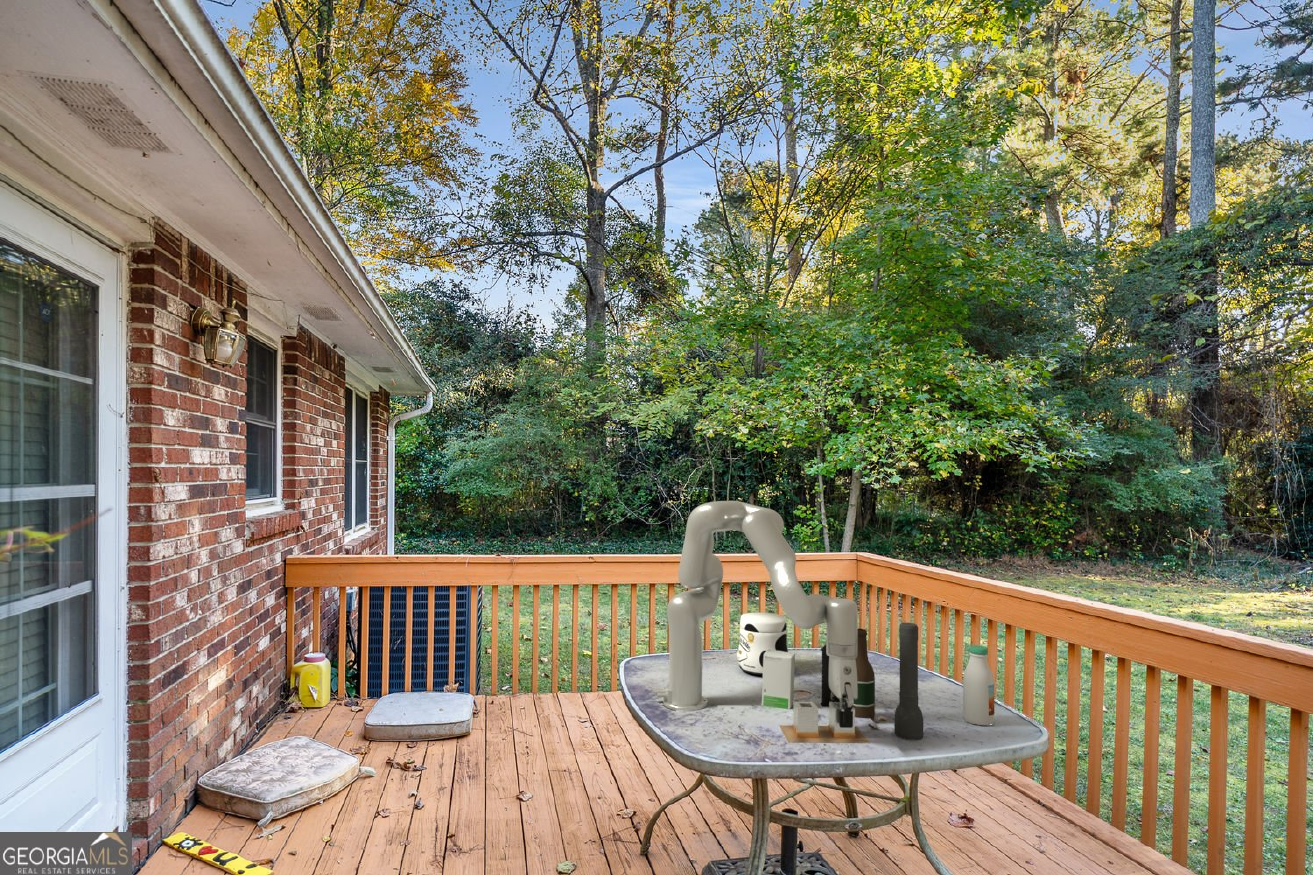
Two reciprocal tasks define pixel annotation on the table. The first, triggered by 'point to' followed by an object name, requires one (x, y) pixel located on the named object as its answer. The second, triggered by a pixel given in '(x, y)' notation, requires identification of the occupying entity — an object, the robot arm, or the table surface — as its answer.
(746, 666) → the milk container
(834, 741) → the pin board
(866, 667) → the beer bottle
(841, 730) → the sleeve
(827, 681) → the aerosol can
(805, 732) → the sleeve seated
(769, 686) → the skincare box
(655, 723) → the table surface
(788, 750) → the table surface
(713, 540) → the robot arm
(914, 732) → the flashlight
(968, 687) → the milk bottle
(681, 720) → the table surface
